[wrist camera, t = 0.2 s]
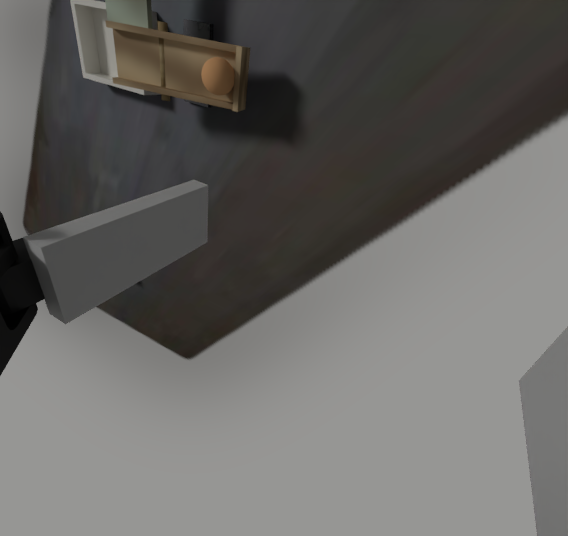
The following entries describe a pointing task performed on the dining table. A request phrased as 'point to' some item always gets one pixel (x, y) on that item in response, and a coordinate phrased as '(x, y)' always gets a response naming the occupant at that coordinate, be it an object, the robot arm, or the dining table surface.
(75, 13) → the dish
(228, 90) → the ball
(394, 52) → the dining table surface
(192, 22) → the fulcrum
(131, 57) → the lever
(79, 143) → the dining table surface
